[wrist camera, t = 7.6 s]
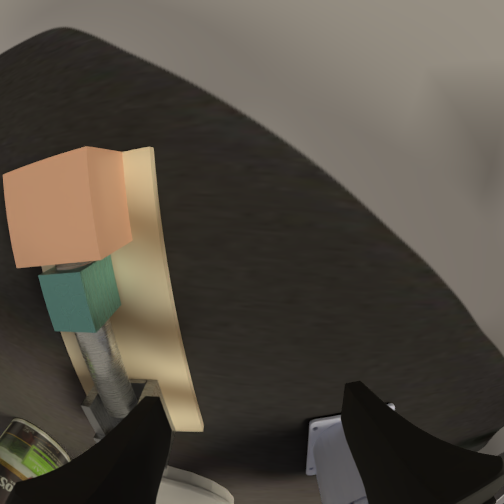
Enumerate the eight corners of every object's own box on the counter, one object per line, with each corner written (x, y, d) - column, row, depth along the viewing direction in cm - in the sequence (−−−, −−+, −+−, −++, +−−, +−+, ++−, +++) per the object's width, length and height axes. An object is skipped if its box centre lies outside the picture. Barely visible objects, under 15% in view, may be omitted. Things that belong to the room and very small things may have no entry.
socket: (132, 240, 17) (100, 260, 13) (55, 250, 17) (16, 268, 13) (122, 151, 16) (86, 146, 11) (44, 172, 16) (2, 174, 12)
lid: (172, 432, 23) (166, 456, 20) (260, 510, 27) (261, 527, 24) (65, 445, 24) (56, 461, 21) (158, 518, 29) (155, 532, 26)
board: (203, 425, 22) (202, 431, 21) (103, 417, 22) (101, 423, 21) (153, 147, 17) (149, 146, 16) (34, 177, 17) (27, 177, 16)
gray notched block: (175, 430, 21) (166, 469, 17) (122, 426, 21) (108, 460, 17) (157, 379, 20) (141, 419, 15) (99, 376, 20) (77, 410, 15)
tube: (148, 392, 20) (134, 426, 16) (112, 389, 20) (95, 421, 16) (100, 189, 16) (66, 194, 12) (61, 198, 16) (25, 205, 12)
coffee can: (30, 413, 23) (-23, 490, 9) (86, 468, 25) (53, 546, 11) (1, 419, 24) (-42, 479, 10) (49, 467, 26) (17, 529, 12)
